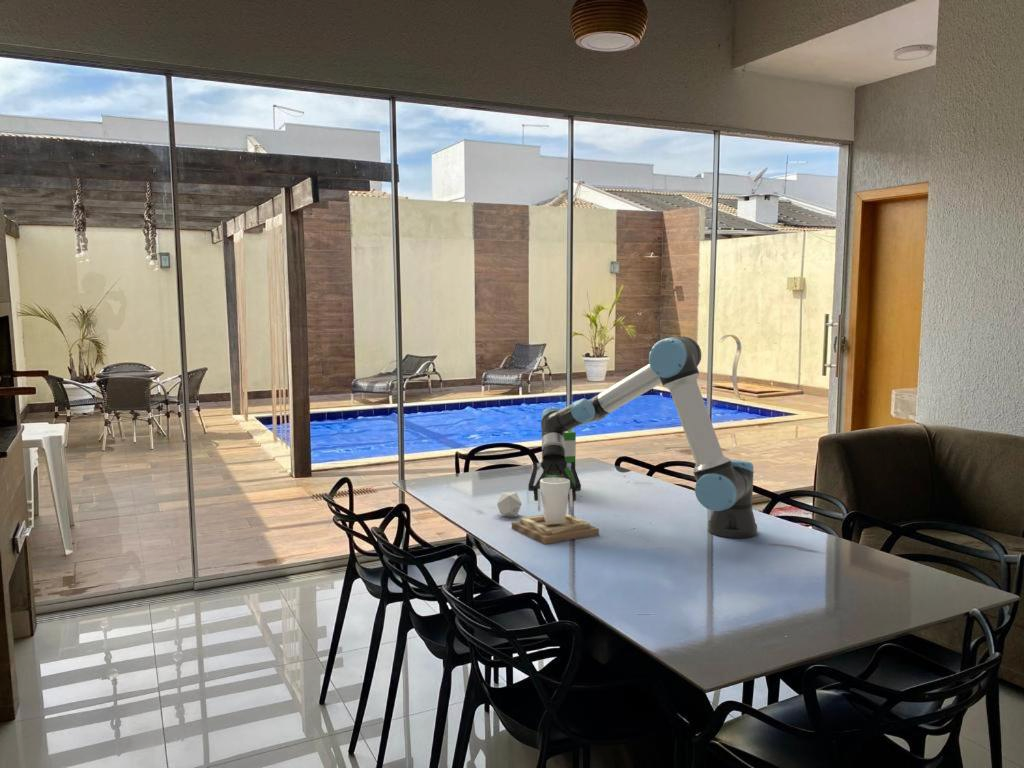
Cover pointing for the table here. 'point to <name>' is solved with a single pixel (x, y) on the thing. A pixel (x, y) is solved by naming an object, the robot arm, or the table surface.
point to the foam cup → (554, 498)
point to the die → (509, 504)
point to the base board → (554, 536)
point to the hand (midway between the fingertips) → (555, 508)
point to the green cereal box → (568, 452)
